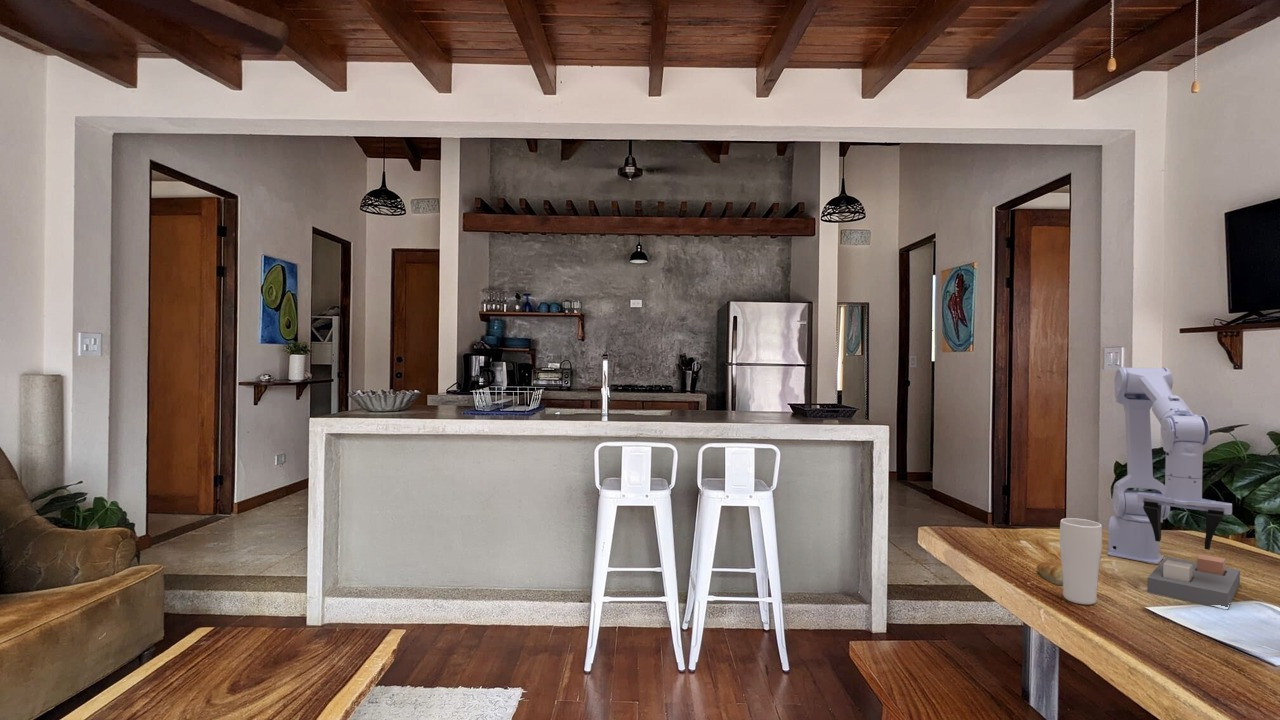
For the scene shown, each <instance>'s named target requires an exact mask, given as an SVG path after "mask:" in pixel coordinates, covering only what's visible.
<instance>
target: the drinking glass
mask: <svg viewBox="0 0 1280 720" xmlns="http://www.w3.org/2000/svg"><path fill="white" fill-rule="evenodd" d="M1059 547H1060V560H1061V561H1060V563H1062V575H1063V586H1062V595H1063V597H1064V598H1065V599H1066V600H1067V601H1069V602H1071V603H1074V604H1079V605H1094V604H1096V602H1097V600H1098V599H1097V597H1098V596H1097V595H1098V594H1097V591H1098V582H1099V573H1100V567H1101V557H1102V548H1103V525H1102V524H1101V523H1099V522H1097V521H1094V520H1089V519H1085V518H1077V517H1076V518H1073V517H1072V518H1071V517H1065V518H1062V519H1061V520H1060V523H1059Z"/></svg>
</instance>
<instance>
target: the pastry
mask: <svg viewBox="0 0 1280 720" xmlns="http://www.w3.org/2000/svg"><path fill="white" fill-rule="evenodd" d="M1036 570H1037V572H1038V573H1039V575H1041V576H1042V577H1043V579H1045V580H1047V581H1049V582H1050V583H1052V584H1055V585H1057V586H1060V587H1063V575H1062V563H1061V562H1048V561H1047V562H1046V561H1045V562H1044V561H1042V562H1040V563H1038V564H1037V565H1036Z"/></svg>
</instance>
